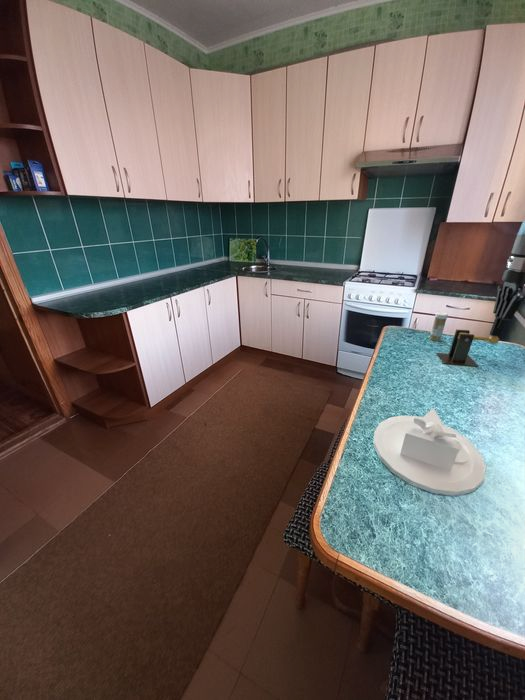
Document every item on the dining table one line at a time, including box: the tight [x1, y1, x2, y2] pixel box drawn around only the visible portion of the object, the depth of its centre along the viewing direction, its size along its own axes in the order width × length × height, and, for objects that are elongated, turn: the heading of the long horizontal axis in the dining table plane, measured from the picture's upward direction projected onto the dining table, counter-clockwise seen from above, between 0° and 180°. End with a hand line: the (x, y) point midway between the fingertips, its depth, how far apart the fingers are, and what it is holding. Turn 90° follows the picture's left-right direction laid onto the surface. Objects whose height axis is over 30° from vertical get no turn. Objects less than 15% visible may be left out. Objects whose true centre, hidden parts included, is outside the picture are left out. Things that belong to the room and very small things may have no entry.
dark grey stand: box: [435, 329, 479, 368], centre depth 111 cm, size 12×9×13 cm
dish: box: [372, 407, 487, 497], centre depth 71 cm, size 25×25×11 cm
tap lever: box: [458, 332, 500, 345], centre depth 108 cm, size 13×3×3 cm, turn 78°
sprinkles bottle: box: [429, 311, 449, 342], centre depth 128 cm, size 5×5×14 cm
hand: (494, 335), depth 106 cm, fingers closed
